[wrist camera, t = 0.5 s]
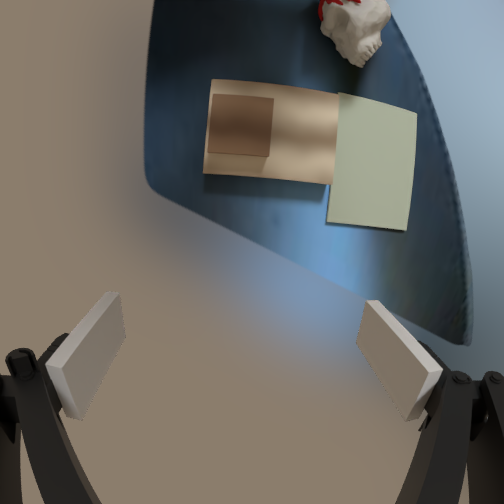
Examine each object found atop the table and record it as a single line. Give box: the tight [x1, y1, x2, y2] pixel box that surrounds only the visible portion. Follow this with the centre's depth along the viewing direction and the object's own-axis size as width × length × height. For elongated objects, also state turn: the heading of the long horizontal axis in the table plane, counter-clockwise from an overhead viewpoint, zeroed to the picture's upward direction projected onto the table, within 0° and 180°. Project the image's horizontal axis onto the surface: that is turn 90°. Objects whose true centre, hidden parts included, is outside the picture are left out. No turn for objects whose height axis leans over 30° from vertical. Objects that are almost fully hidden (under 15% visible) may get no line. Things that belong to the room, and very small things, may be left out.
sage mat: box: [326, 92, 417, 230], centre depth 38 cm, size 18×13×1 cm
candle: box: [318, 0, 391, 68], centre depth 28 cm, size 9×11×15 cm
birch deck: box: [203, 79, 339, 185], centre depth 35 cm, size 12×16×2 cm
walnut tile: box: [207, 94, 274, 157], centre depth 32 cm, size 7×7×2 cm
